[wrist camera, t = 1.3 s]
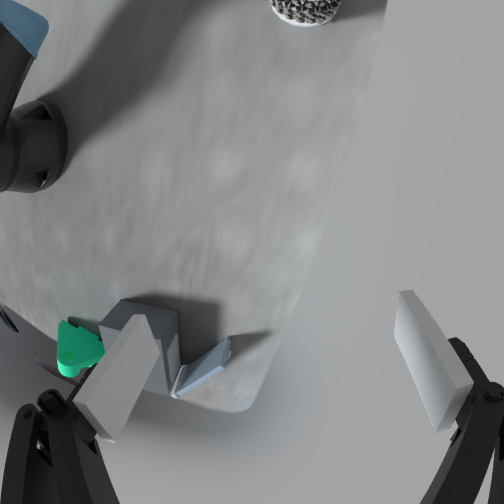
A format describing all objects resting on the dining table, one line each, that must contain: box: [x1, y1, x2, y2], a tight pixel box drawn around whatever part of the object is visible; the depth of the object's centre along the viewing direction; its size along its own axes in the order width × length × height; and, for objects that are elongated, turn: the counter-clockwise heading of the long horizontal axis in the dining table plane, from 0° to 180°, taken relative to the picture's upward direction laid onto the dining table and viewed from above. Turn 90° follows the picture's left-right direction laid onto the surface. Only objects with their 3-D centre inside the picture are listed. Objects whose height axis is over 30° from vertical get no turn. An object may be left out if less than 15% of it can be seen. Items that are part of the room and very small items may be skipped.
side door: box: [172, 337, 232, 399], centre depth 43 cm, size 1×12×7 cm, turn 135°
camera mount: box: [57, 320, 105, 377], centre depth 44 cm, size 12×8×10 cm, turn 68°
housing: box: [99, 300, 182, 396], centre depth 42 cm, size 10×13×8 cm
